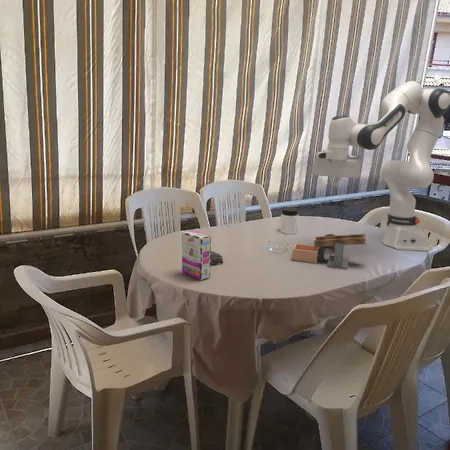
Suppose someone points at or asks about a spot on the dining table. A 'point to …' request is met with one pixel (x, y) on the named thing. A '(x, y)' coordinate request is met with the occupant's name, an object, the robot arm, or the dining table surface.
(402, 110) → the robot arm
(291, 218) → the jar
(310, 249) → the pink open box
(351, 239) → the brown wooden tray
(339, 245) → the stand
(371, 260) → the dining table surface
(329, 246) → the pottery mug
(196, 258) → the candy bar box
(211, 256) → the tank toy
